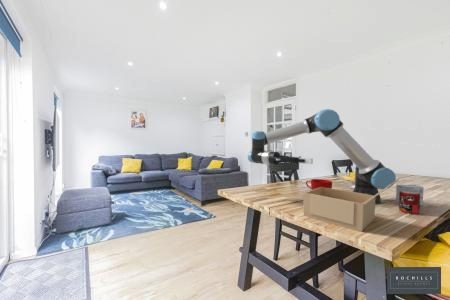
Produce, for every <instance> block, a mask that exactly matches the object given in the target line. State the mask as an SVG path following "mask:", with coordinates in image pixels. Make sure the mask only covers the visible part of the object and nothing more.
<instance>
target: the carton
mask: <svg viewBox="0 0 450 300" xmlns="http://www.w3.org/2000/svg"><path fill="white" fill-rule="evenodd" d="M373 196H374V195H368V194H362V193H356V192H353V191H349V190H344V189H343V190H342V189H338V188H332V189H331V188H324V187H319V188H316V189H313V190H312V189H311V190H307V191H303V202H302V203H303V206H302V213H303V216H304V217H307V218H310V219H311V218H312V219H315V220H318V221H322V222H325V223H329V224H333V225H337V226H340V227H344V228H346V229H350V230H354V231H357V232H363V231H364V230H366V229H367V228H368V227H369V226H370V225H371V224H372V223H373V222H374V221H375V217H376V214H375V213H376V203H375V198H373V199H372V200H370V201H369V202H367V203H366V204H364V203H365V202H366V201H368V200H369V199H371V198H372V197H373Z"/></svg>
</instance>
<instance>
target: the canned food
mask: <svg viewBox="0 0 450 300" xmlns="http://www.w3.org/2000/svg"><path fill="white" fill-rule="evenodd" d="M420 206H421V205H420V192H418V191H414V190H405V189H401V190H400V194H399V203H398V209H399V212H400V211H401V213H403V212H404V213H403V214H407V213H409V214H408V215H413V214H417V215H419V214H420Z"/></svg>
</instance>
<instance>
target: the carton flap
mask: <svg viewBox="0 0 450 300" xmlns="http://www.w3.org/2000/svg"><path fill="white" fill-rule="evenodd" d="M398 181H400V178H397V179H395V181H394V182H393V183H391V184H390V185H388V186H387V187H385V188H384V189H380V191H378V192H379V193H377V194H376V195H375V196H373V197H372V198H371V199H369V200H368V201H366V202H365V203H364V204H366V203H367V202H369V201H370V200H372V199H373V198H375V197H376V196H377V195H380V194H382V193H383V192H384V191H386V190H388V189H389V188H388V187H390V186H391V185H392V184H393V185H394V184H395V183H397V182H398ZM391 187H392V186H391ZM391 187H390V188H391ZM387 188H388V189H387Z"/></svg>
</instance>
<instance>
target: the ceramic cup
mask: <svg viewBox="0 0 450 300" xmlns="http://www.w3.org/2000/svg"><path fill="white" fill-rule="evenodd" d="M308 183H310V186H309V184H308ZM305 185H306V187H308V188H309V189H311V190H313V189H316V188H319V187H324V188H331V189H333V188H332V187H333V181H332V180H328V179H324V178H323V179H322V178H321V179H320V178H315V179H314V178H313V179H310V180H306V181H305Z"/></svg>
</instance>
